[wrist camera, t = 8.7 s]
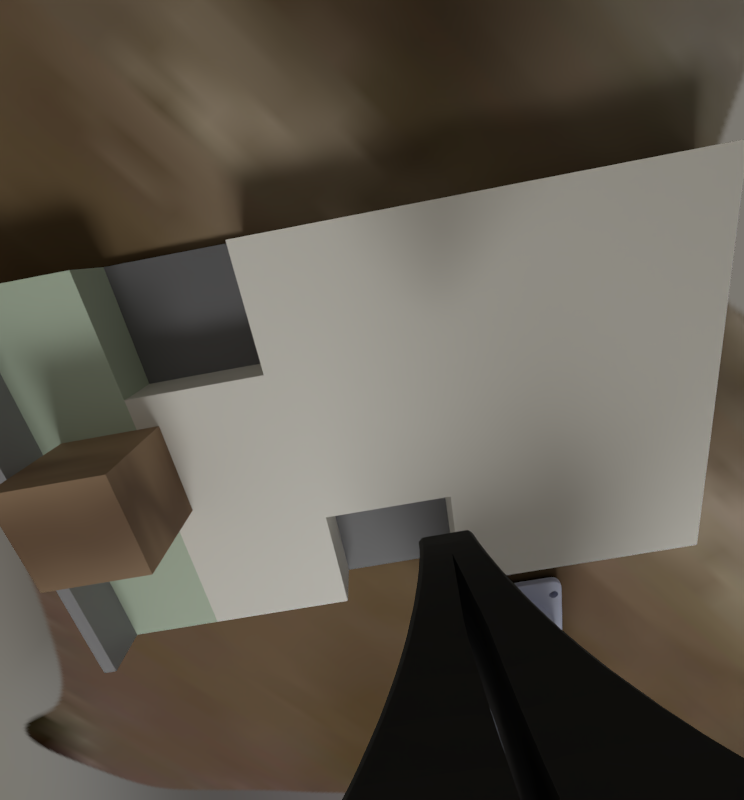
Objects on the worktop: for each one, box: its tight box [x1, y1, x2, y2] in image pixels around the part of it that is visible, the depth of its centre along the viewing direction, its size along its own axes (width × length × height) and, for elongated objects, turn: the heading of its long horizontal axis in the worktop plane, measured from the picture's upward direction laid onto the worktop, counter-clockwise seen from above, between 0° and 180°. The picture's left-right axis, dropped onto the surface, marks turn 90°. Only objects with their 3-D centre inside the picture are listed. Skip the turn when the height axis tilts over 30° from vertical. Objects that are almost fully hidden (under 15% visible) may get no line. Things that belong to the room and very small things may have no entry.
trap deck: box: [0, 140, 744, 673], centre depth 18 cm, size 18×30×4 cm, turn 100°
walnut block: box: [0, 426, 193, 593], centre depth 17 cm, size 4×4×4 cm
